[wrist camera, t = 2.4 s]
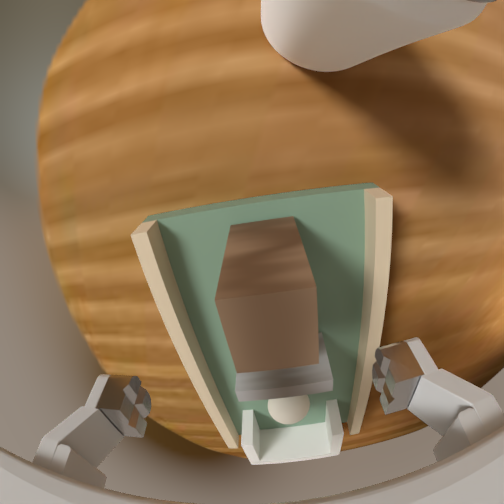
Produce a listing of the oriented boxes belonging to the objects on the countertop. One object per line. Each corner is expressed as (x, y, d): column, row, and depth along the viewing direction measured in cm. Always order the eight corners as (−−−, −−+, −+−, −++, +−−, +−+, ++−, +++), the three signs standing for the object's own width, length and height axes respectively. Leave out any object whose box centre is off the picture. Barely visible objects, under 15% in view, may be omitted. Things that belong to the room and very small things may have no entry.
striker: (315, 213, 16) (351, 281, 9) (321, 344, 20) (339, 424, 14) (208, 228, 16) (180, 303, 10) (241, 354, 21) (237, 435, 14)
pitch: (372, 182, 16) (392, 196, 13) (353, 411, 27) (358, 433, 24) (148, 215, 17) (130, 234, 15) (230, 426, 28) (228, 448, 26)
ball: (306, 374, 22) (311, 408, 19) (307, 396, 24) (312, 428, 20) (264, 379, 22) (265, 413, 19) (269, 401, 24) (270, 432, 21)
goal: (336, 398, 24) (343, 433, 20) (333, 424, 26) (339, 454, 23) (242, 410, 25) (241, 445, 21) (252, 434, 27) (251, 464, 24)
